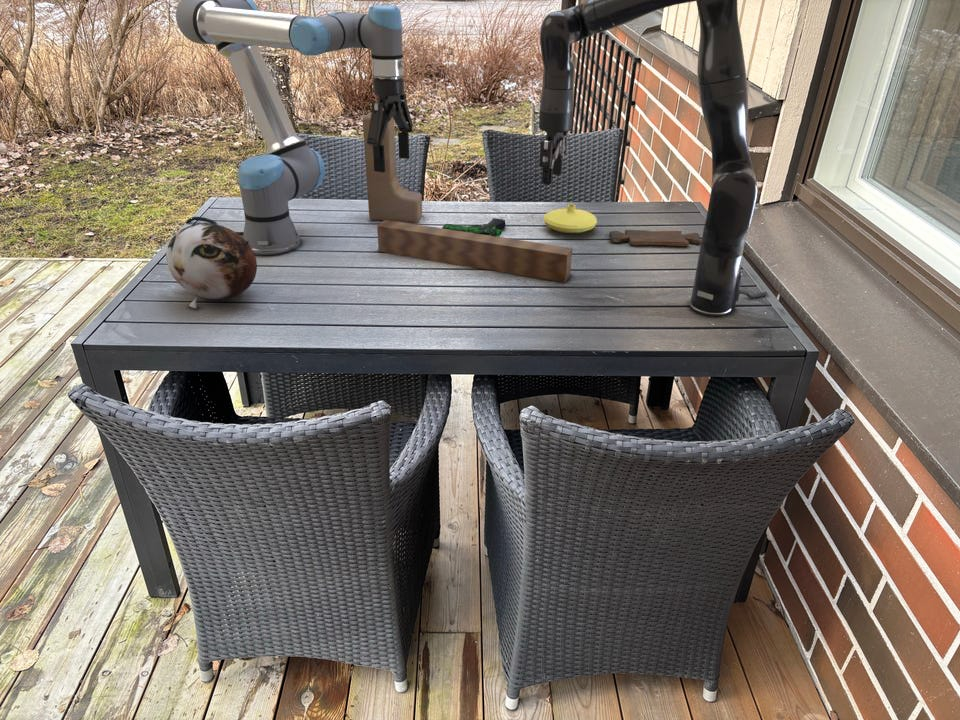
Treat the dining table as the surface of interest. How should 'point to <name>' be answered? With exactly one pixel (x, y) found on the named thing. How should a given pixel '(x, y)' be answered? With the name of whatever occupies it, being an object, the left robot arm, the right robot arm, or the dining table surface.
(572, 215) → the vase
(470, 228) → the handgun
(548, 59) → the right robot arm
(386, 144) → the decorative block
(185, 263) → the cat face ball toy
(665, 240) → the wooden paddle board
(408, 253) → the bar
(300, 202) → the dining table surface
